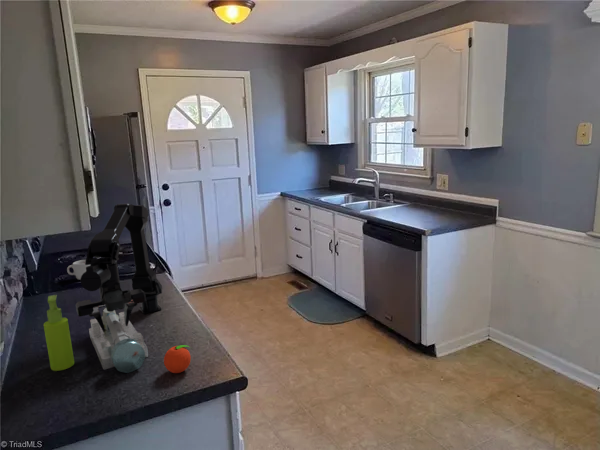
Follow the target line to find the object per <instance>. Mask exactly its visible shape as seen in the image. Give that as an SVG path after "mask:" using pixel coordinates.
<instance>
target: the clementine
mask: <svg viewBox="0 0 600 450" xmlns="http://www.w3.org/2000/svg"><path fill="white" fill-rule="evenodd" d="M187 347H188V348H191V350H193V348H192V347H191V346H189V345H187V344H183V345H182V344H181V345H175V346H172V347H170V348H169V349H168V350H167V351H166V353H165V354H164V357H163V363H164V367H165V368H166V370H167V371H169V372H170V373H173V374H181V373H182V372H184V371H185V370H187V369H188V367H189V366H190V364H191V359H192V356H191V353H190V351H189V350H188V349H187Z"/></svg>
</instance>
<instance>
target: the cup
mask: <svg viewBox="0 0 600 450" xmlns="http://www.w3.org/2000/svg"><path fill="white" fill-rule="evenodd" d="M85 262H86V259H81V260H76V261H74V262H72V264H71V265H68V267H67V268H66V271H67V273H68V275H69V276H75V278H76V279H77V280H78V281H79V280H80V279H81V276H82V275H83V273H85V272H86V267H87V266H90V265H85ZM70 268H71V269H73V272H71V271H70Z"/></svg>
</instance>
